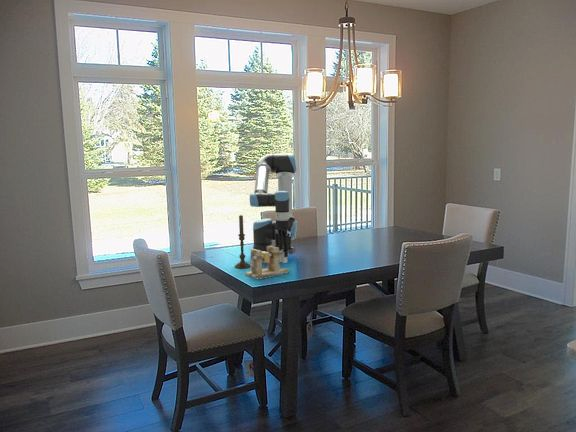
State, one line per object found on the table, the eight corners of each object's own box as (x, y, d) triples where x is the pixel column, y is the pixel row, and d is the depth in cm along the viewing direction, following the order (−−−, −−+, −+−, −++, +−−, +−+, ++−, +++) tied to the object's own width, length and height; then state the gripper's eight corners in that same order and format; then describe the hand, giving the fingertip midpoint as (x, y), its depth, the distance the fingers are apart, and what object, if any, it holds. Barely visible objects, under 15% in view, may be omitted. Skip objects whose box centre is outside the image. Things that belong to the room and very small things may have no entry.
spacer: (259, 261, 250) (259, 251, 250) (263, 260, 252) (263, 251, 252) (265, 262, 247) (264, 253, 246) (269, 261, 249) (269, 252, 248)
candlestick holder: (232, 268, 264) (230, 215, 259) (237, 264, 273) (235, 213, 268) (248, 268, 262) (246, 215, 258) (252, 264, 271) (250, 213, 267)
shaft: (252, 260, 247) (252, 253, 246) (290, 253, 263) (290, 246, 263) (256, 262, 244) (256, 254, 243) (295, 254, 260) (295, 247, 260)
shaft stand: (245, 274, 250) (244, 249, 248) (275, 268, 262) (274, 243, 260) (258, 279, 241) (258, 252, 239) (289, 272, 253) (288, 246, 251)
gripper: (268, 218, 258) (269, 260, 261) (286, 222, 246) (286, 265, 250) (279, 217, 263) (280, 258, 266) (297, 220, 251) (297, 263, 254)
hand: (283, 262), depth 258 cm, fingers closed on shaft, 2 cm apart
